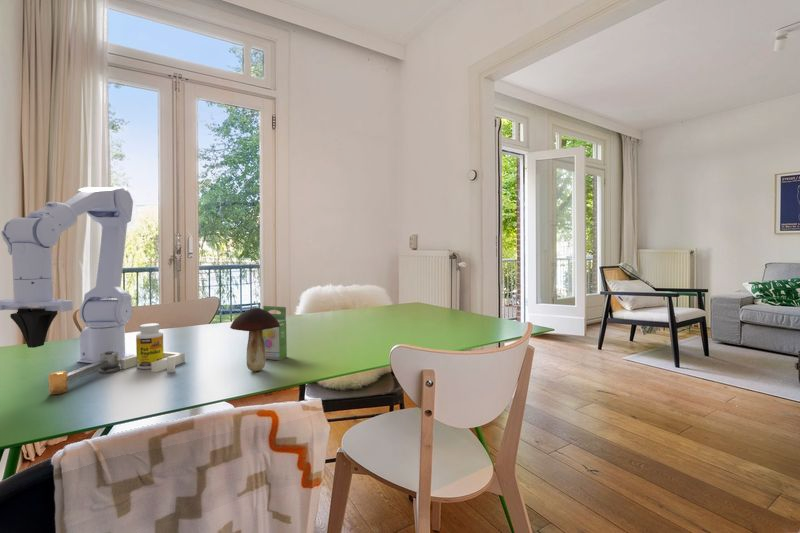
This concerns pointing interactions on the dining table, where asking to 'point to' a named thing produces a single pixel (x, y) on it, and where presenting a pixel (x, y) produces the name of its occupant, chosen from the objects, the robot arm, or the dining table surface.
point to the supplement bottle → (149, 345)
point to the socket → (155, 365)
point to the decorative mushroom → (255, 334)
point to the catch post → (171, 364)
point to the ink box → (276, 336)
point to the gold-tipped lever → (81, 372)
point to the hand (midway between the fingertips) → (35, 346)
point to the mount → (109, 370)
